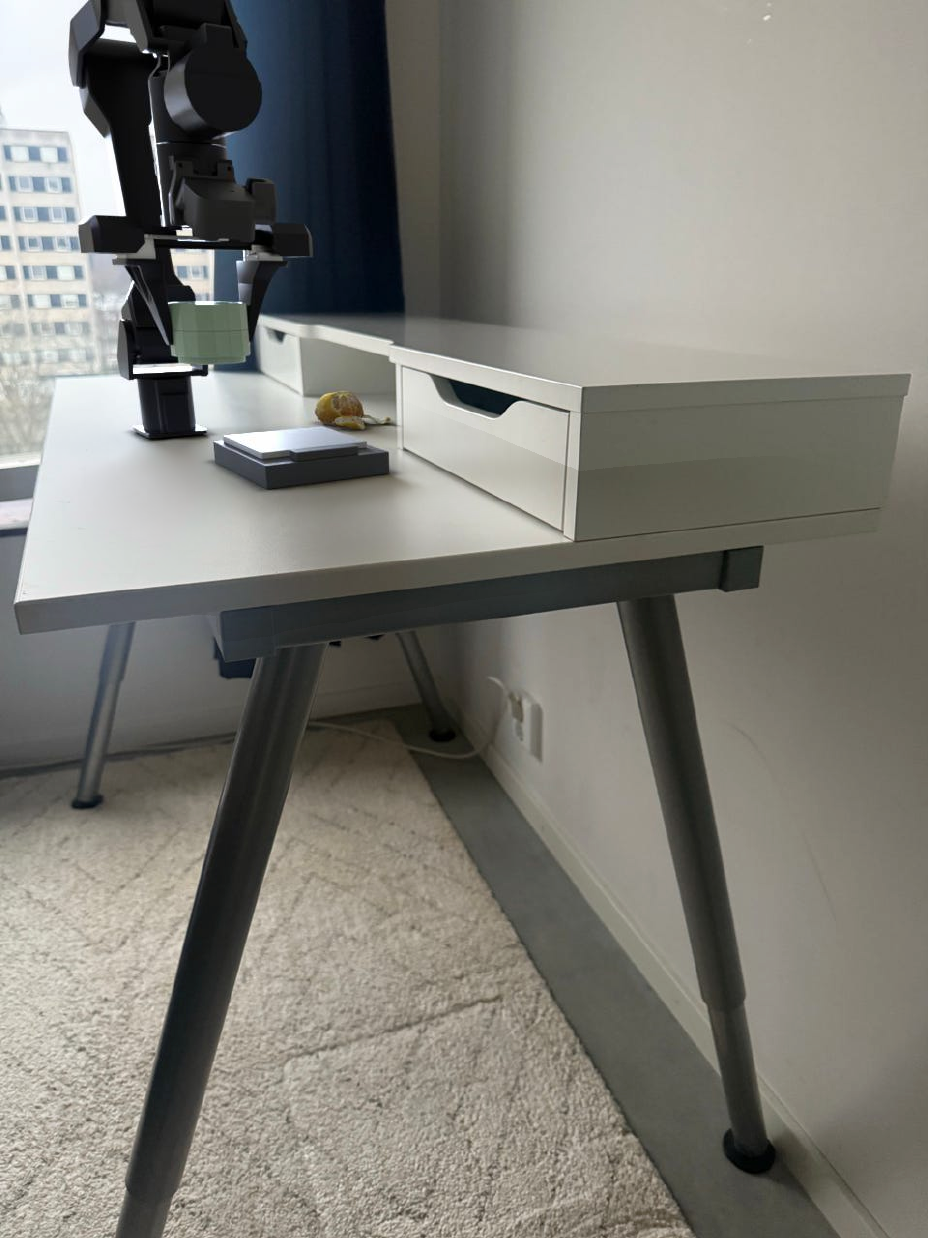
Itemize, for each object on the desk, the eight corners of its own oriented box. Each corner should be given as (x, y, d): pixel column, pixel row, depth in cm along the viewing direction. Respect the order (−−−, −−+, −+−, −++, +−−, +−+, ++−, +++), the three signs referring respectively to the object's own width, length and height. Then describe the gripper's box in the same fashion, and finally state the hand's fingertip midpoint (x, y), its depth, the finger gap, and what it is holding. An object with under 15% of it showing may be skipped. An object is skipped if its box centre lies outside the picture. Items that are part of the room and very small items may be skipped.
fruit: (350, 431, 99) (349, 399, 98) (298, 424, 103) (296, 392, 102) (395, 422, 105) (395, 391, 104) (344, 415, 110) (343, 386, 108)
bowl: (163, 359, 79) (157, 301, 77) (236, 357, 82) (231, 301, 80) (185, 366, 73) (179, 303, 72) (261, 362, 77) (257, 303, 75)
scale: (214, 462, 83) (211, 432, 82) (327, 449, 89) (326, 422, 88) (266, 489, 73) (264, 456, 72) (389, 473, 79) (389, 442, 78)
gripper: (93, 124, 60) (123, 355, 66) (335, 146, 70) (343, 346, 76) (63, 141, 69) (93, 344, 75) (282, 159, 79) (293, 338, 84)
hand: (210, 343), depth 77 cm, fingers closed on bowl, 7 cm apart
